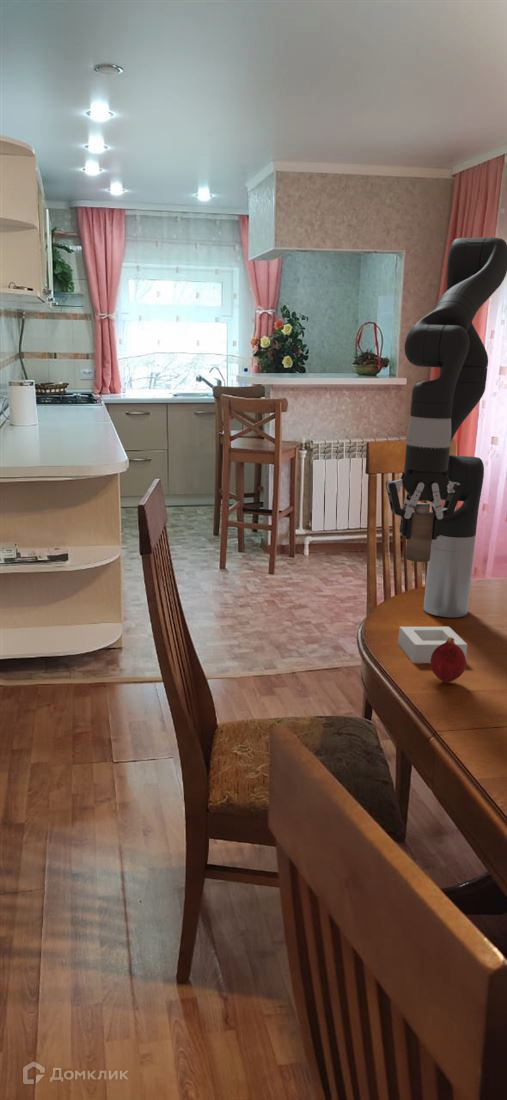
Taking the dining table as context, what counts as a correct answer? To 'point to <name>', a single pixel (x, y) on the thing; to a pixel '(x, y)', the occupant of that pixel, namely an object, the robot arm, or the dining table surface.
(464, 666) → the onion
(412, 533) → the pepper mill
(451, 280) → the robot arm
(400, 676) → the dining table surface
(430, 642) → the holder
